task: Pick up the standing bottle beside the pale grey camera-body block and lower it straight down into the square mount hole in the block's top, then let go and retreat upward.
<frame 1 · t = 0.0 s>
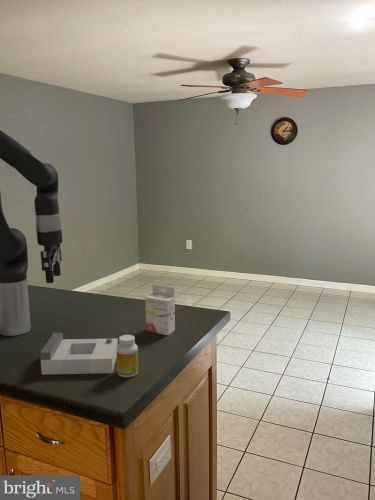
hand: (53, 279, 134), 17 cm above the countertop, tool pointing down, fingers open, 8 cm apart
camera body: (82, 362, 115), on the countertop
ink cartridge box: (160, 331, 137), on the countertop
supplement bottle: (127, 373, 109), on the countertop
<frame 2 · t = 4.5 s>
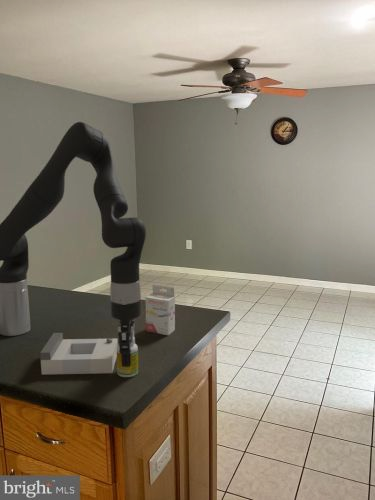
hand: (127, 360, 109), 3 cm above the countertop, tool pointing down, fingers closed on supplement bottle, 5 cm apart
supplement bottle: (127, 373, 109), on the countertop, touching gripper
everything else where it was.
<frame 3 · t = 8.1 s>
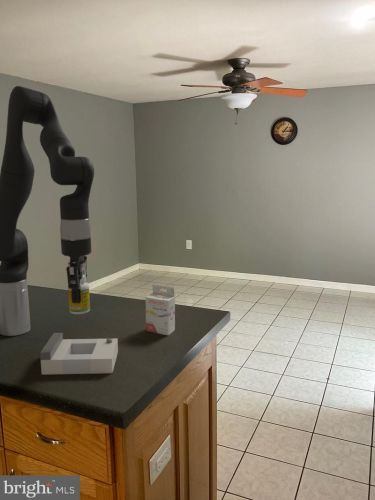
hand: (79, 298, 112), 18 cm above the countertop, tool pointing down, fingers closed on supplement bottle, 5 cm apart
supplement bottle: (79, 311, 112), point 14 cm above the countertop, touching gripper
everything else where it was.
when the fingers open (5 cm above the countertop, at t = 11.5 s): supplement bottle drops 1 cm, resting in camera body.
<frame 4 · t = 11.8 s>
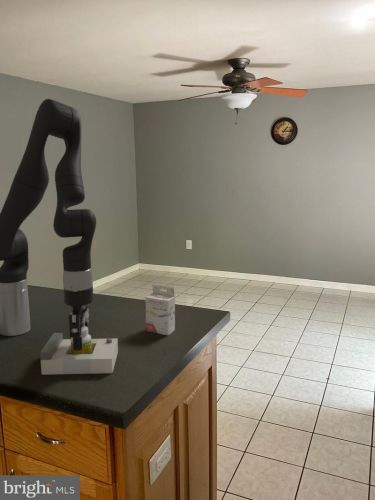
hand: (81, 343, 114), 6 cm above the countertop, tool pointing down, fingers open, 8 cm apart
supplement bottle: (82, 362, 115), resting in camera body
everything else where it was.
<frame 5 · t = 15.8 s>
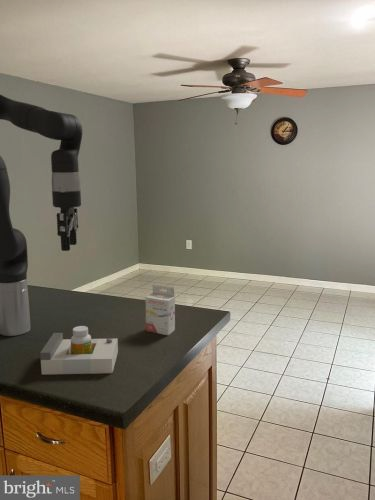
hand: (69, 247, 118), 30 cm above the countertop, tool pointing down, fingers open, 8 cm apart
nothing on the countertop moved.
at the end: supplement bottle 0.2 cm off-centre on the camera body, point 0.0 cm above the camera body's base; supplement bottle tilted 0°; the gripper is holding nothing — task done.
